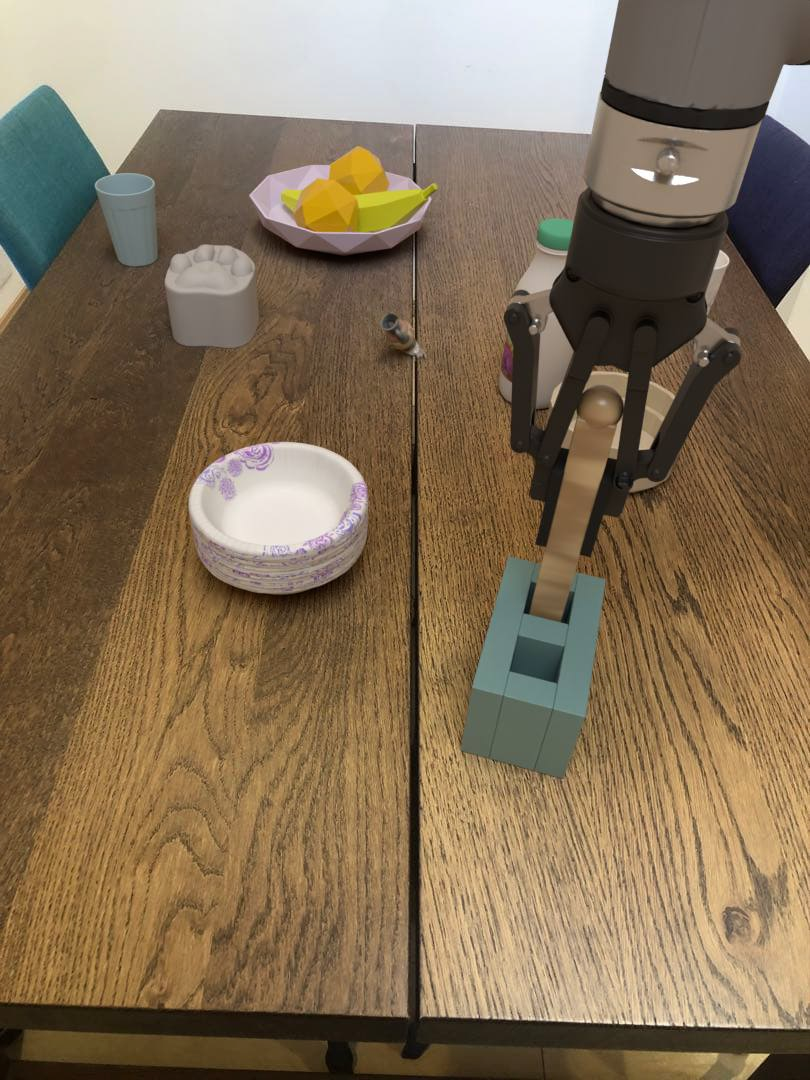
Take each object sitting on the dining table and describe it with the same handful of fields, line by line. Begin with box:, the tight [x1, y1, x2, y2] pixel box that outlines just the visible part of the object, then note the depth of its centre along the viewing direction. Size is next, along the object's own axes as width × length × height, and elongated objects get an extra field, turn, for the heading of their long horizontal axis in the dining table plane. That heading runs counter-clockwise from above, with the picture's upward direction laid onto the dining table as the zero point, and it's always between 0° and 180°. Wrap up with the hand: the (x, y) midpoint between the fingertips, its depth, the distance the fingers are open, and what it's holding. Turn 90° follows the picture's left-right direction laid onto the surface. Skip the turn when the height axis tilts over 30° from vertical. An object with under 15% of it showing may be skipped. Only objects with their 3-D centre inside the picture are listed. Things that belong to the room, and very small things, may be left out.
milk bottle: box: [498, 217, 574, 410], centre depth 90 cm, size 8×8×20 cm
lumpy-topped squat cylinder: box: [164, 243, 260, 349], centre depth 102 cm, size 10×13×9 cm
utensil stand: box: [459, 555, 607, 780], centre depth 62 cm, size 8×13×8 cm, turn 164°
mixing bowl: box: [544, 370, 685, 494], centre depth 87 cm, size 14×14×6 cm
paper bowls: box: [187, 441, 370, 596], centre depth 72 cm, size 15×15×8 cm
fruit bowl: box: [248, 145, 439, 257], centre depth 121 cm, size 28×27×11 cm
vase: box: [374, 312, 428, 364], centre depth 99 cm, size 5×5×6 cm
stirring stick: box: [529, 385, 624, 622], centre depth 57 cm, size 3×3×24 cm
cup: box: [94, 172, 159, 267], centre depth 112 cm, size 8×8×10 cm
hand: (565, 537), depth 57 cm, fingers closed on stirring stick, 2 cm apart
